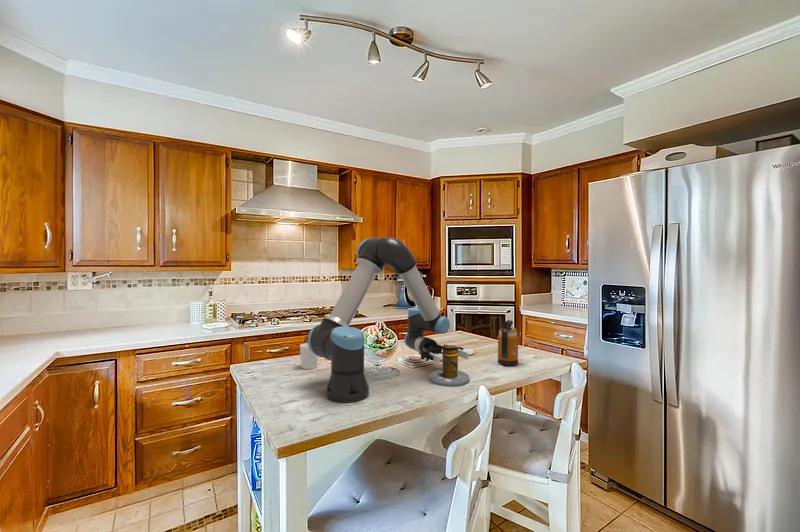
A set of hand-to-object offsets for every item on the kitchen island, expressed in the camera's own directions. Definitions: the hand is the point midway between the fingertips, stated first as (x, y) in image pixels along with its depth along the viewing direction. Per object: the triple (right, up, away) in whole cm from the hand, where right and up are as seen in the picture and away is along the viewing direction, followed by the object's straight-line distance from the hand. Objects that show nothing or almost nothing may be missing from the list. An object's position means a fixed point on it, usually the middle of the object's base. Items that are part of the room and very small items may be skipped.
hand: (453, 358), depth 148 cm
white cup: (-61, -9, +19) cm, 65 cm away
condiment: (-2, -8, +3) cm, 9 cm away
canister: (+28, -9, +25) cm, 39 cm away
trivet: (-1, -9, +3) cm, 10 cm away
